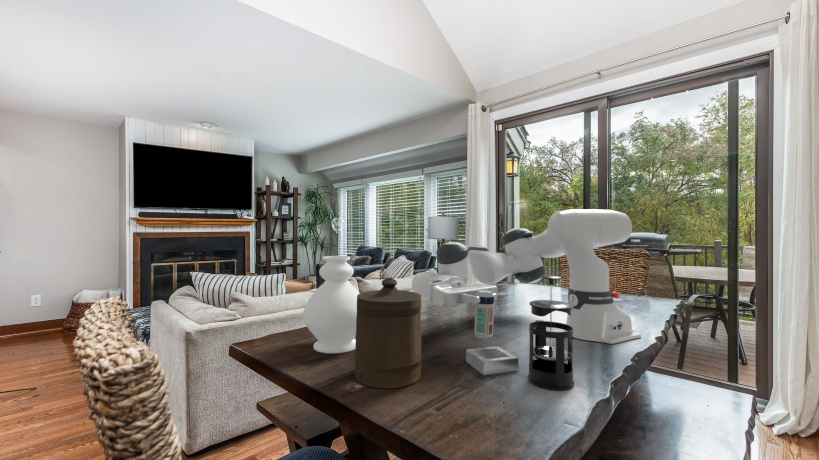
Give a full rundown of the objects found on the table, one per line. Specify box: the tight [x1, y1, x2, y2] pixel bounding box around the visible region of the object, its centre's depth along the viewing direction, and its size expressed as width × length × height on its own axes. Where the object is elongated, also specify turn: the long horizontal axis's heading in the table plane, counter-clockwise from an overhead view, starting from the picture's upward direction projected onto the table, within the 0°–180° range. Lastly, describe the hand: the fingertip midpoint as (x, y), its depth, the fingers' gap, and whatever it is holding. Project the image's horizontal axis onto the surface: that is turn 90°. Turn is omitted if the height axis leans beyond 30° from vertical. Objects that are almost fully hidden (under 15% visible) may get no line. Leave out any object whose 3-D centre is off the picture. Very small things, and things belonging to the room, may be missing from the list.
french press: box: [527, 274, 575, 392], centre depth 81 cm, size 12×9×23 cm
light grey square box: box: [465, 345, 519, 376], centre depth 89 cm, size 9×9×3 cm
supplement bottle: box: [473, 290, 495, 340], centre depth 97 cm, size 5×5×12 cm
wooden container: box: [354, 277, 422, 389], centre depth 84 cm, size 15×15×22 cm
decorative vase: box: [303, 255, 361, 354], centre depth 104 cm, size 18×18×25 cm
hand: (487, 298), depth 96 cm, fingers closed on supplement bottle, 5 cm apart
